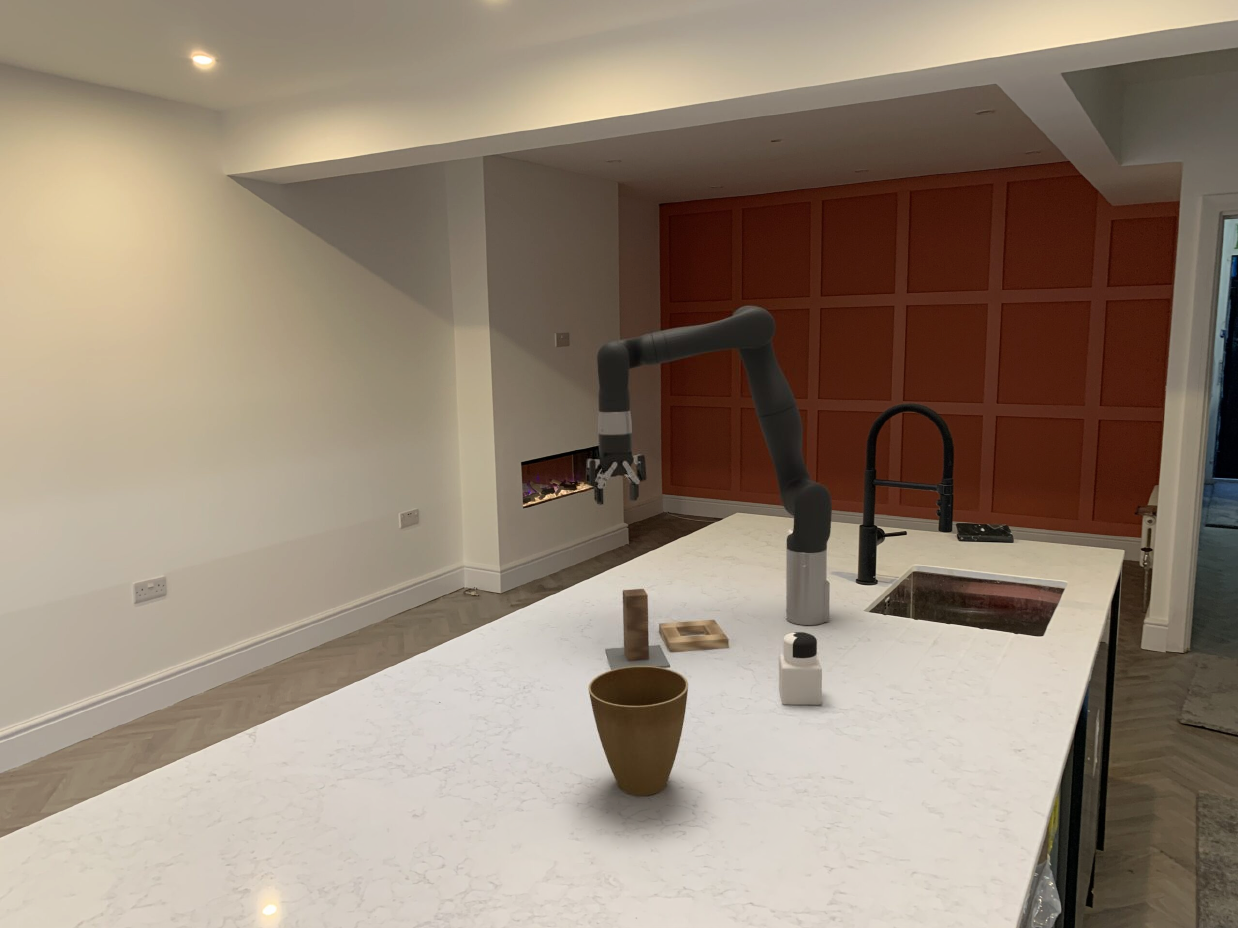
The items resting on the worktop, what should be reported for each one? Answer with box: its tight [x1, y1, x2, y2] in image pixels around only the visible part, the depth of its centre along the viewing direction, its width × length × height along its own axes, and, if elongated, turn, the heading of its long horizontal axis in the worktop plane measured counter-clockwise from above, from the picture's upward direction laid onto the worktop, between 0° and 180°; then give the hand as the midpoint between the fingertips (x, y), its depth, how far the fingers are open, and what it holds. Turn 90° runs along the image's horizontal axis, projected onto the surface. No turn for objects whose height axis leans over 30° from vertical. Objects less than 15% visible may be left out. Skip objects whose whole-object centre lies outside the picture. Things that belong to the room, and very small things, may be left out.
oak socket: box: [658, 619, 730, 653], centre depth 193 cm, size 13×13×2 cm
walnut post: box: [622, 588, 650, 661], centre depth 181 cm, size 4×4×14 cm
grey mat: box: [604, 644, 671, 670], centre depth 182 cm, size 12×12×1 cm
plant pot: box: [588, 666, 689, 797], centre depth 130 cm, size 15×15×16 cm
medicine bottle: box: [778, 631, 823, 706], centre depth 160 cm, size 7×7×12 cm
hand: (617, 502), depth 197 cm, fingers open, 8 cm apart
